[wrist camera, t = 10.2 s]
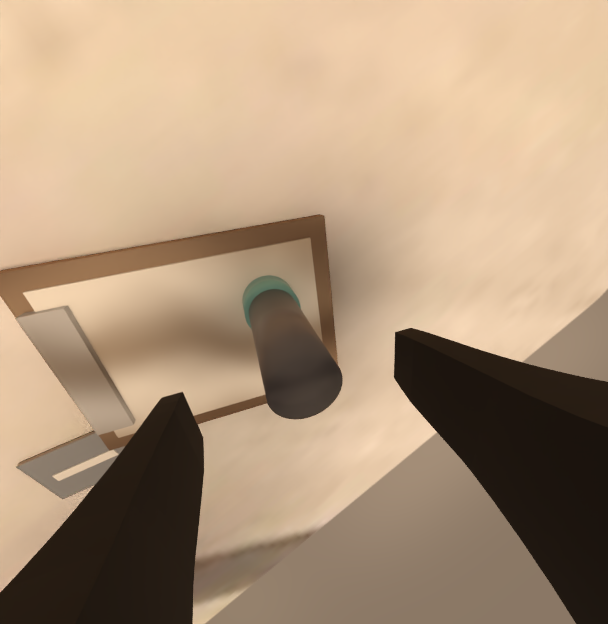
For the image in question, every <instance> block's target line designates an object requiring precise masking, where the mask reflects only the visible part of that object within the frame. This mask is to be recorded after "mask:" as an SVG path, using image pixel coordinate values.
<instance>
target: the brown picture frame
mask: <svg viewBox="0 0 608 624" xmlns="http://www.w3.org/2000/svg"><path fill="white" fill-rule="evenodd" d="M267 275H272V276H277V277H279V278H281V279H283V280H284V281H286V282H287V283H288V284H289V286H290V287H291V289H292V290H293V292H294V293H295V294H296V296H297V297H298V299H299V302H300V306H301V310H302V312H303V313H304V315H305V316H306V318H307V319H308V321H309V322H310V324H311V325H312V327H313V329H314V330H315V332H316V333H317V335H318V336H319V338H320V339H321V341H322V342H323V344H324V345H325V347H326V348H327V350H328V351H329V353H330V354H331V356H332V357H333V359H334V361H335V362H336V364H337V365H338V362H337V351H336V340H335V329H334V318H333V307H332V296H331V285H330V274H329V263H328V252H327V241H326V230H325V219H324V216H323V215H314V216H309V217H303V218H297V219H292V220H286V221H280V222H275V223H269V224H263V225H257V226H252V227H246V228H240V229H235V230H229V231H223V232H218V233H212V234H206V235H200V236H195V237H189V238H183V239H178V240H172V241H166V242H161V243H155V244H149V245H143V246H138V247H132V248H126V249H121V250H115V251H109V252H104V253H98V254H92V255H86V256H81V257H75V258H69V259H64V260H58V261H52V262H47V263H41V264H35V265H29V266H24V267H18V268H12V269H7V270H1V271H0V296H1V297H2V299H3V300H4V302H5V303H6V305H7V306H8V307H9V309H10V310H11V312H12V313H13V314H14V316H15V317H16V318H15V319H16V321H17V322H18V323H19V325H20V326H21V328H22V329H23V330H24V332H25V333H26V335H27V336H28V338H29V339H30V340H31V342H32V343H33V345H34V346H35V347H36V349H37V350H38V352H39V353H40V354H41V356H42V357H43V359H44V360H45V362H46V363H47V364H48V366H49V367H50V369H51V370H52V371H53V373H54V374H55V376H56V377H57V379H58V380H59V381H60V383H61V384H62V386H63V387H64V388H65V390H66V391H67V393H68V394H69V395H70V397H71V398H72V400H73V401H74V403H75V404H76V405H77V407H78V408H79V410H80V411H81V412H82V414H83V415H84V417H85V418H86V420H87V421H88V422H89V424H90V425H91V427H92V428H93V429H94V431H95V432H96V434H97V435H99V437H100V438H101V439H102V441H103V442H104V444H105V445H106V446H107V448H108V449H109V451H110V450H114V449H117V448H120V447H124V446H126V445H127V443H128V442H129V441H130V439H131V438H132V437H133V435H134V434H135V433H136V431H137V430H138V429H139V427H140V426H141V425H142V423H143V422H144V420H145V419H146V418H147V416H148V415H149V414H150V412H151V411H152V410H153V408H154V407H155V405H156V404H157V403H158V402H159V400H160V399H161V398H162V397H166V396H169V395H173V394H176V393H180V392H183V393H184V396H185V398H186V400H187V402H188V405H189V407H190V409H191V411H192V414H193V416H194V418H195V420H196V423H197V424H200V423H203V422H206V421H210V420H213V419H216V418H220V417H223V416H226V415H230V414H233V413H236V412H239V411H243V410H246V409H249V408H253V407H256V406H259V405H263V404H266V403H267V400H266V395H265V390H264V385H263V381H262V376H261V371H260V366H259V362H258V357H257V352H256V347H255V343H254V338H253V333H252V329H251V328H250V327H249V326H248V324H247V322H246V319H245V314H244V308H243V302H242V298H243V294H244V291H245V289H246V287H247V286H248V285H249V284H250V283H251V282H252V281H253V280H255V279H256V278H258V277H261V276H267Z"/></svg>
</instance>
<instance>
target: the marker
mask: <svg viewBox="0 0 608 624" xmlns="http://www.w3.org/2000/svg"><path fill="white" fill-rule="evenodd" d="M242 302H243V308H244V314H245V319H246V322H247V324H248V326H249V327H250V328H251V329H252V333H253V338H254V343H255V347H256V352H257V357H258V362H259V366H260V371H261V376H262V381H263V385H264V390H265V395H266V400H267V403H268V405H269V407H270V408H271V410H272V411H273V412H275V413H276V414H277V415H279V416H281V417H284V418H288V419H303V418H308V417H311V416H314V415H316V414H318V413H320V412H322V411H323V410H325V409H326V408H327V407H329V406H330V405H331V404H332V403H333V402H334V400H335V399H336V398H337V396H338V394H339V392H340V390H341V387H342V373H341V370H340V368H339V367H338V365H337V364H336V362H335V361H334V359H333V357H332V356H331V354H330V353H329V351H328V350H327V348H326V347H325V345H324V344H323V342H322V341H321V339H320V338H319V336H318V335H317V333H316V332H315V330H314V329H313V327H312V325H311V324H310V322H309V321H308V319H307V318H306V316H305V315H304V313H303V312H302V310H301V306H300V302H299V299H298V297H297V296H296V294H295V293H294V292H293V290H292V289H291V287H290V286H289V284H288V283H287V282H286V281H284V280H283V279H281V278H279V277H277V276H272V275H267V276H261V277H258V278H256V279H255V280H253V281H252V282H251V283H250V284H249V285H248V286H247V287H246V289H245V291H244V294H243V298H242Z"/></svg>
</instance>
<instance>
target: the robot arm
mask: <svg viewBox="0 0 608 624" xmlns="http://www.w3.org/2000/svg"><path fill="white" fill-rule="evenodd" d="M394 378H395V380H396V381H397V383H398V384H399V386H400V387H401V389H402V390H403V392H404V393H405V395H406V396H407V397H408V399H409V400H410V402H411V403H412V404H413V405H414V406H415V408H416V409H417V410H418V411H419V412H420V413H421V414H422V415H423V417H424V418H425V419H426V420H427V421H428V422H429V423H430V425H431V426H432V427H433V428H434V429H435V430H436V431H437V432H438V433H439V434H440V436H441V437H442V438H443V439H444V440H445V441H446V442H447V444H448V445H449V446H450V447H451V448H452V449H453V450H454V451H455V452H456V454H457V455H458V456H459V457H460V458H461V459H462V461H463V462H464V463H465V464H466V465H467V467H468V468H469V469H470V470H471V472H472V473H473V474H474V476H475V477H476V478H477V480H478V481H479V482H480V483H481V485H482V486H483V488H484V489H485V490H486V492H487V493H488V494H489V496H490V497H491V498H492V500H493V501H494V502H495V504H496V505H497V507H498V508H499V509H500V511H501V512H502V514H503V515H504V516H505V518H506V519H507V521H508V522H509V523H510V525H511V526H512V528H513V529H514V530H515V532H516V533H517V535H518V536H519V537H520V539H521V540H522V542H523V543H524V545H525V546H526V548H527V549H528V551H529V552H530V554H531V555H532V556H533V558H534V560H535V561H536V563H537V564H538V566H539V567H540V569H541V570H542V571H543V573H544V574H545V576H546V577H547V579H548V580H549V582H550V583H551V584H552V586H553V588H554V589H555V591H556V592H557V594H558V595H559V597H560V599H561V600H562V602H563V604H564V605H565V607H566V608H567V610H568V611H569V613H570V615H571V616H572V618H573V619H574V621H575V622H576V624H608V382H605V381H600V380H595V379H589V378H585V377H580V376H575V375H571V374H567V373H562V372H558V371H554V370H549V369H545V368H541V367H537V366H533V365H529V364H526V363H522V362H519V361H515V360H512V359H508V358H505V357H501V356H498V355H494V354H491V353H488V352H485V351H482V350H478V349H475V348H472V347H469V346H466V345H463V344H460V343H457V342H454V341H451V340H448V339H445V338H442V337H439V336H436V335H433V334H430V333H427V332H424V331H420V330H417V329H413V328H409V329H405V330H402V331H398V332H395V364H394ZM203 475H204V447H203V436H202V434H201V432H200V429H199V427H198V425H197V423H196V420H195V418H194V416H193V414H192V411H191V409H190V407H189V405H188V402H187V400H186V398H185V396H184V393H183V392H180V393H176V394H173V395H169V396H166V397H162V398H161V399H160V400H159V402H158V403H157V404H156V405H155V407H154V408H153V410H152V411H151V412H150V414H149V415H148V416H147V418H146V419H145V420H144V422H143V423H142V425H141V426H140V427H139V429H138V430H137V431H136V433H135V434H134V435H133V437H132V438H131V439H130V441H129V442H128V443H127V445H126V446H125V447H124V449H123V450H122V451H121V453H120V454H119V455H118V457H117V458H116V459H115V461H114V462H113V463H112V465H111V466H110V467H109V468H108V470H107V471H106V472H105V473H104V475H103V476H102V477H101V478H100V479H99V481H98V482H97V483H96V484H95V486H94V487H93V488H92V489H91V491H90V492H89V493H88V494H87V496H86V497H85V498H84V499H83V500H82V502H81V503H80V504H79V505H78V507H77V508H76V509H75V510H74V512H73V513H72V514H71V515H70V516H69V517H68V519H67V520H66V521H65V522H64V523H63V524H62V526H61V527H60V528H59V529H58V530H57V531H56V532H55V534H54V535H53V536H52V537H51V538H50V539H49V540H48V541H47V543H46V544H45V545H44V546H43V547H42V548H41V549H40V550H39V551H38V552H37V554H36V555H35V556H34V557H33V558H32V559H31V560H30V561H29V562H28V563H27V565H26V566H25V567H24V568H23V569H22V570H21V571H20V572H19V573H18V574H17V575H16V577H15V578H14V579H13V580H12V581H11V582H10V583H9V584H8V585H7V586H6V587H5V588H4V589H3V590H2V591H1V592H0V624H192V618H193V581H194V566H195V555H196V545H197V536H198V526H199V516H200V506H201V497H202V486H203Z"/></svg>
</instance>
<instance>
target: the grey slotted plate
mask: <svg viewBox="0 0 608 624" xmlns="http://www.w3.org/2000/svg"><path fill="white" fill-rule="evenodd" d="M124 447H125V446H124ZM124 447H120V448H117V449H114V450H110V451H109V449H108V448H107V446H106V445H105V444H104V442H103V441H102V439H101V438H100V437H99V435H97V434H96V432H95V431H92V432H90V433H88V434H85V435H83V436H81V437H78V438H76V439H74V440H71V441H69V442H67V443H64V444H62V445H60V446H58V447H55V448H53V449H51V450H48V451H46V452H44V453H41V454H39V455H37V456H34V457H32V458H30V459H27V460H25V461H23V462H20V463H19V464H18V465H17V467H16V468H18V469H19V470H21V471H22V472H24V473H25V474H27V475H28V476H30V477H31V478H32V479H34V480H35V481H37V482H38V483H40V484H41V485H43V486H44V487H46V488H47V489H49V490H50V491H51V492H53V493H54V494H56V495H57V496H59V497H60V498H62V499H64V498H67V497H69V496H71V495H73V494H76V493H78V492H80V491H82V490H84V489H87V488H89V487H91V486H93V485H95V484H96V483H97V482H98V481H99V479H100V478H101V477H102V476H103V475H104V473H105V472H106V471H107V470H108V468H109V467H110V466H111V465H112V463H113V462H114V461H115V459H116V458H117V457H118V455H119V454H120V453H121V451H122V450H123V449H124Z"/></svg>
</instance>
